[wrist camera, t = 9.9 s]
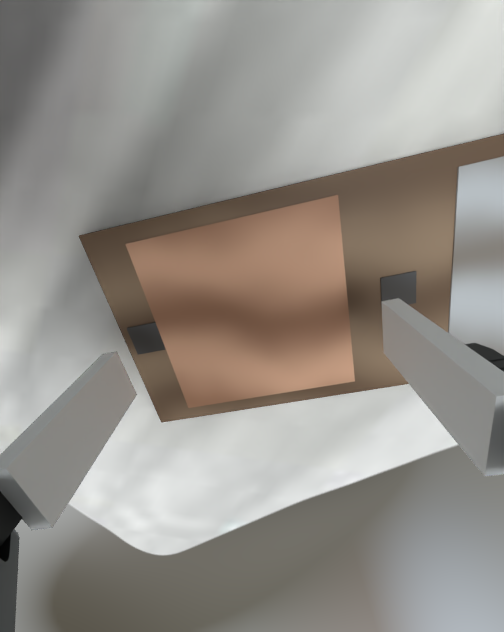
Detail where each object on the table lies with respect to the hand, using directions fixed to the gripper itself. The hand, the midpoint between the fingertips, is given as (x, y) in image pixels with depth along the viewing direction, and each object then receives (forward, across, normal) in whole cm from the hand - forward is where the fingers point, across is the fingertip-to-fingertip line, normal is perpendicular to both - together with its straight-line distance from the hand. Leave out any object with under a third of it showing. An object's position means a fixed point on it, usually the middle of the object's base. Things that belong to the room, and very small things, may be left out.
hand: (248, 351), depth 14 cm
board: (+5, +8, 0) cm, 9 cm away
